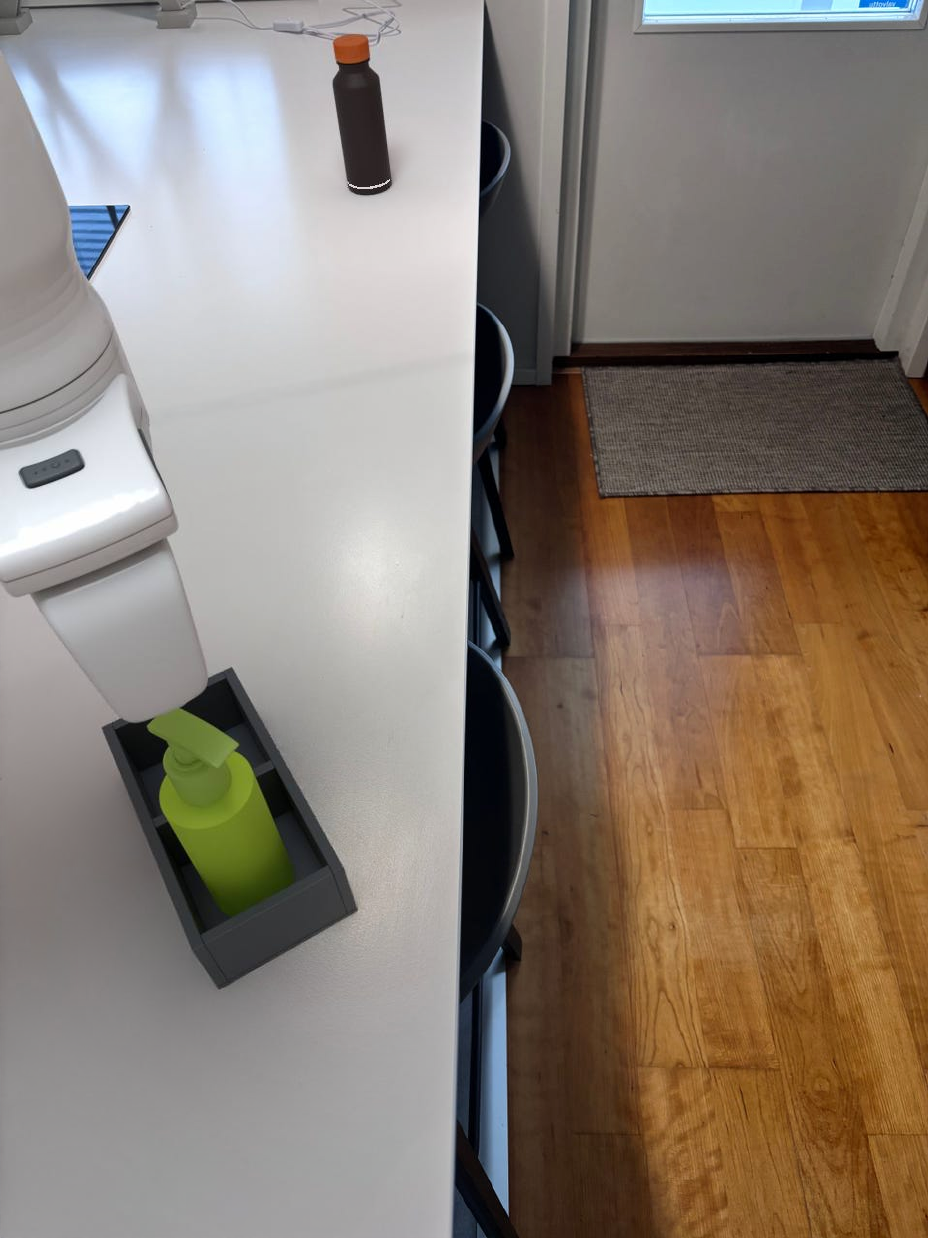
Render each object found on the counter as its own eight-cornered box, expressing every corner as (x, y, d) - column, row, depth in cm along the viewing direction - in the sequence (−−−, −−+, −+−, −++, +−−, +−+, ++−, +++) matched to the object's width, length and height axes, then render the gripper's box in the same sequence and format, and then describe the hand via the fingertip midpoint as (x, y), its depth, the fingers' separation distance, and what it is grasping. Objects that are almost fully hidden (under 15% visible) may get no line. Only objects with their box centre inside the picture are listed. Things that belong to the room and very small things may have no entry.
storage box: (218, 990, 64) (192, 951, 59) (129, 773, 76) (100, 727, 72) (358, 910, 67) (344, 868, 63) (250, 714, 80) (231, 666, 75)
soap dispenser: (270, 943, 66) (190, 791, 51) (196, 896, 68) (100, 738, 54) (321, 875, 69) (260, 713, 54) (249, 832, 72) (172, 667, 57)
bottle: (344, 180, 147) (322, 35, 132) (387, 172, 148) (370, 28, 133) (351, 198, 143) (329, 51, 128) (395, 191, 144) (378, 43, 129)
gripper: (-96, 325, 43) (28, 544, 53) (2, 600, 31) (139, 815, 41) (41, 281, 45) (136, 501, 55) (185, 525, 33) (272, 748, 43)
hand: (138, 637), depth 48 cm, fingers open, 8 cm apart
